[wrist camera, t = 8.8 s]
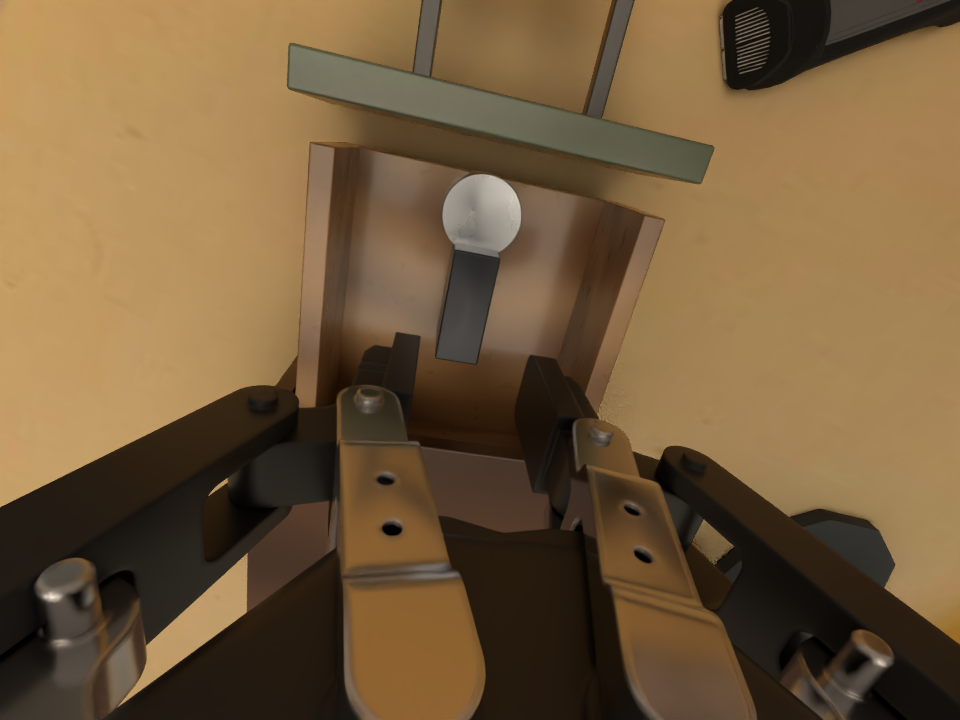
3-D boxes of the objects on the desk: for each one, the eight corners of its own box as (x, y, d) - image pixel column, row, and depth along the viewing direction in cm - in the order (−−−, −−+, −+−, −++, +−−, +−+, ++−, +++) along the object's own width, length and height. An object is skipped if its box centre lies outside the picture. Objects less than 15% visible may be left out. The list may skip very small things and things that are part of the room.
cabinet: (305, 343, 24) (248, 422, 18) (575, 387, 26) (620, 473, 20) (290, 575, 31) (244, 699, 24) (507, 596, 33) (523, 716, 26)
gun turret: (831, 683, 40) (991, 910, 28) (662, 595, 34) (775, 834, 22) (967, 592, 36) (1219, 811, 24) (803, 474, 30) (1029, 686, 18)
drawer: (345, -103, 17) (296, -216, 11) (695, -1, 19) (792, -58, 13) (308, 406, 25) (271, 477, 20) (553, 441, 27) (579, 514, 21)
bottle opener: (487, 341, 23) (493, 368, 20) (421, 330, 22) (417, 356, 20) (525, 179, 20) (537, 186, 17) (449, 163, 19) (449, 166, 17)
